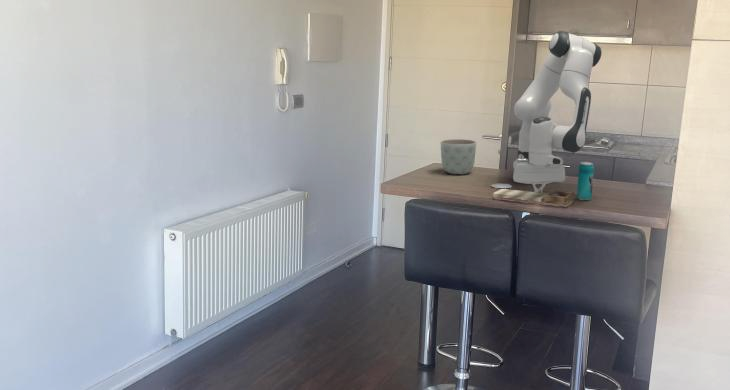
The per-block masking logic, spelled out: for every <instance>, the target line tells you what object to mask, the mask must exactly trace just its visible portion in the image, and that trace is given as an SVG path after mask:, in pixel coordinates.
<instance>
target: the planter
mask: <svg viewBox="0 0 730 390" xmlns="http://www.w3.org/2000/svg"><path fill="white" fill-rule="evenodd" d="M476 147H477V142H476V140H472V139H465V138H463V139H461V138H453V139H443V140H441V141H440V154H441V155H440V156H441V157H440V158H441V165H442V168H443V170H444V171H445V172H446V173H448V174H449V175H456V174H461V175H466V174H469V173H470V172H471V171H472V170H473V169H474V166H475V160H476V159H475V158H476V149H477V148H476Z"/></svg>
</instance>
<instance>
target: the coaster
mask: <svg viewBox="0 0 730 390" xmlns="http://www.w3.org/2000/svg"><path fill="white" fill-rule="evenodd" d="M491 186H492V187H495V188H505V189H506V188H510V189H512V188H513V186H512V185H511V184H509V183H492V184H491V185H490V187H491ZM492 187H491V188H492Z"/></svg>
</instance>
